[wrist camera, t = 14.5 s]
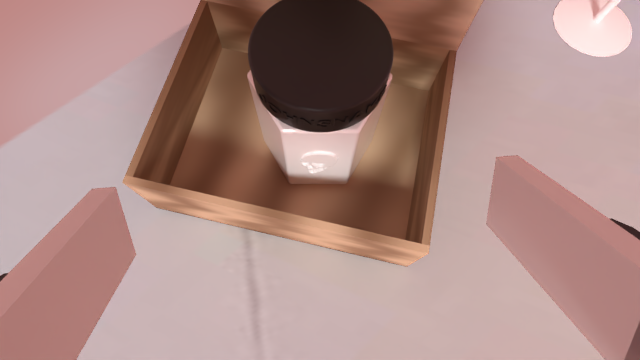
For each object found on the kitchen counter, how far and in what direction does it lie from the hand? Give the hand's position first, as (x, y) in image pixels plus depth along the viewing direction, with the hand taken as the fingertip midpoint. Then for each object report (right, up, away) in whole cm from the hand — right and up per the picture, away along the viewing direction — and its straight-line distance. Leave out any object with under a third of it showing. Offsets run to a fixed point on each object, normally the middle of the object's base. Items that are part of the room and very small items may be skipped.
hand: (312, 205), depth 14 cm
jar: (0, +4, +19) cm, 20 cm away
